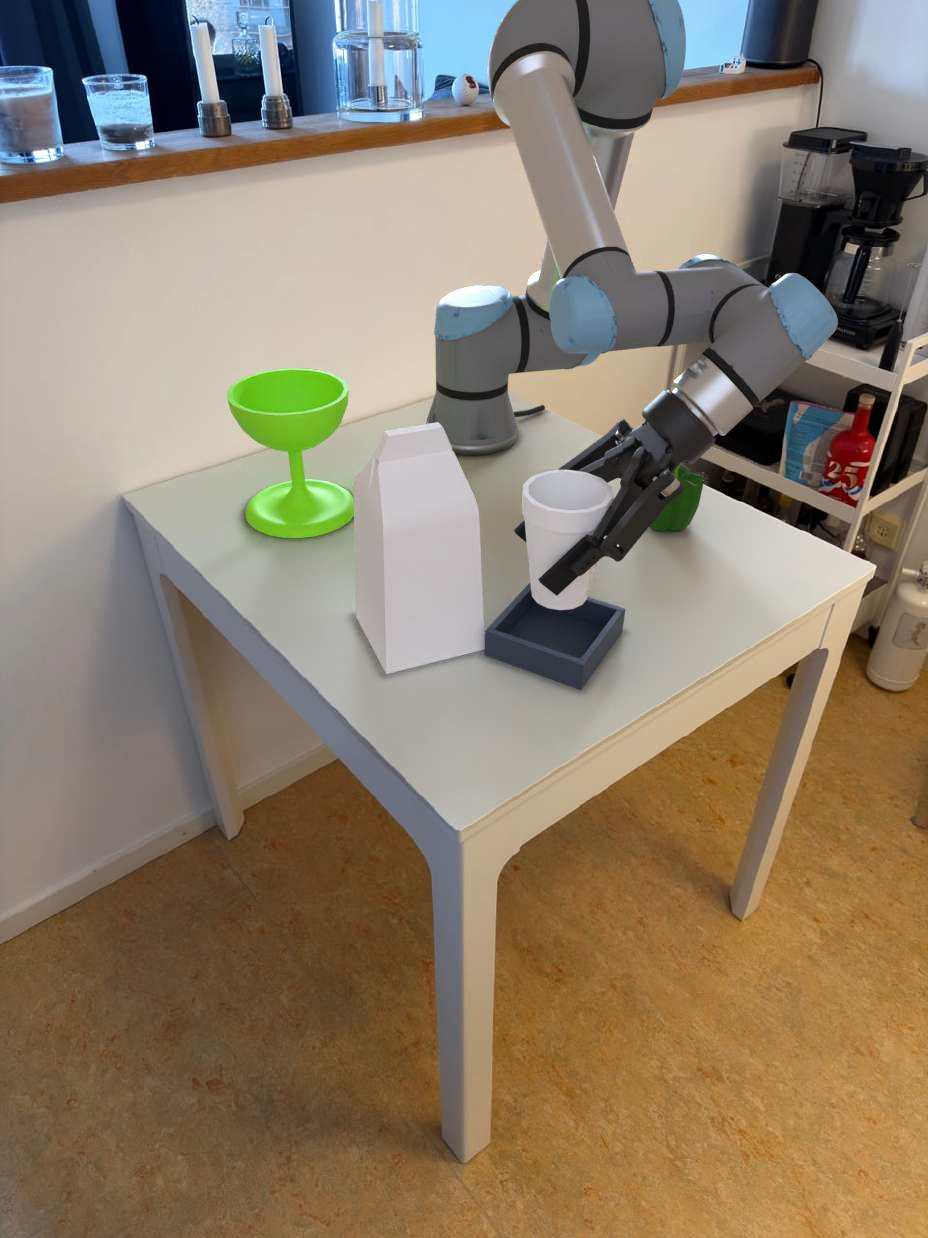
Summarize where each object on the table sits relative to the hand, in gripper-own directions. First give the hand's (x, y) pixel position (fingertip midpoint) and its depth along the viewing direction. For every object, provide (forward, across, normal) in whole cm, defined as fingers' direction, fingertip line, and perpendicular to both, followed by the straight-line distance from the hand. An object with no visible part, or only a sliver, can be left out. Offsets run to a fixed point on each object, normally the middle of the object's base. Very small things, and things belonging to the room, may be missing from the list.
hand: (534, 561), depth 97 cm
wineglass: (+25, -38, -8) cm, 46 cm away
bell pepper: (-10, -23, +27) cm, 37 cm away
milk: (+17, -5, 0) cm, 18 cm away
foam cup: (+1, 0, +6) cm, 6 cm away
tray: (+6, 0, +10) cm, 12 cm away
